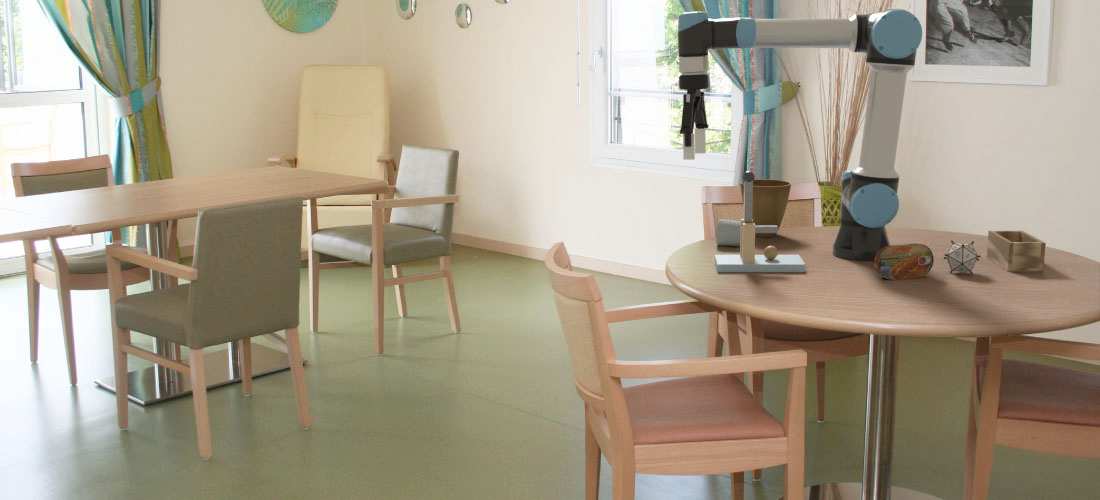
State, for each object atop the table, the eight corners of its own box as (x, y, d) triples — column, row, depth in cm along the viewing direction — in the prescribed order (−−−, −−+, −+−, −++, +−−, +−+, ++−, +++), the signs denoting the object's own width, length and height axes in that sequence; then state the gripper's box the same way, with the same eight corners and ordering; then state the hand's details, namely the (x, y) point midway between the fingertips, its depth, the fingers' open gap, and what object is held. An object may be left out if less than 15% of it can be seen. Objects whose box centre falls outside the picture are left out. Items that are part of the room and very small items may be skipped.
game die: (964, 286, 258) (988, 253, 258) (967, 281, 250) (991, 248, 250) (933, 266, 261) (956, 234, 261) (934, 261, 253) (958, 227, 253)
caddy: (1020, 257, 272) (1022, 230, 271) (1043, 271, 256) (1045, 242, 254) (986, 257, 273) (988, 230, 272) (1007, 271, 257) (1009, 243, 255)
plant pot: (739, 239, 305) (740, 185, 301) (739, 230, 319) (740, 178, 316) (791, 239, 302) (792, 185, 299) (788, 230, 316) (789, 178, 313)
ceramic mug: (744, 248, 291) (745, 222, 290) (715, 247, 294) (715, 221, 292) (749, 242, 301) (749, 216, 300) (721, 241, 303) (721, 215, 302)
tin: (878, 281, 250) (879, 247, 248) (871, 278, 253) (872, 244, 251) (933, 277, 253) (935, 243, 251) (926, 274, 256) (928, 241, 254)
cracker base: (798, 262, 272) (799, 217, 270) (805, 272, 261) (806, 225, 258) (714, 262, 275) (715, 217, 272) (717, 272, 263) (717, 225, 261)
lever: (776, 233, 267) (777, 170, 264) (777, 236, 264) (779, 171, 260) (740, 233, 268) (741, 170, 265) (741, 236, 265) (742, 172, 261)
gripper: (689, 72, 276) (691, 150, 281) (667, 76, 254) (669, 162, 258) (717, 71, 274) (718, 150, 278) (697, 75, 251) (698, 162, 255)
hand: (694, 156), depth 268 cm, fingers open, 13 cm apart
